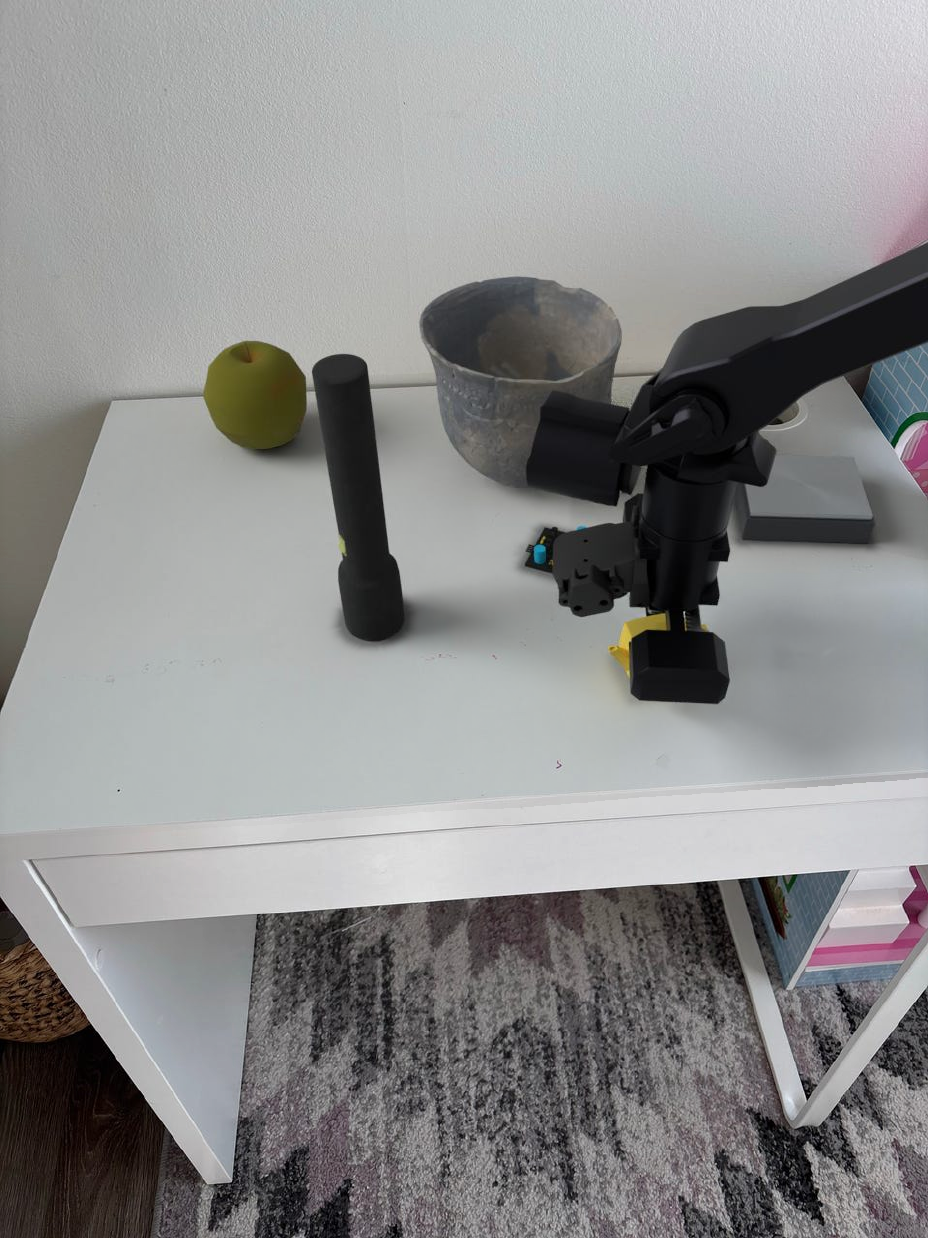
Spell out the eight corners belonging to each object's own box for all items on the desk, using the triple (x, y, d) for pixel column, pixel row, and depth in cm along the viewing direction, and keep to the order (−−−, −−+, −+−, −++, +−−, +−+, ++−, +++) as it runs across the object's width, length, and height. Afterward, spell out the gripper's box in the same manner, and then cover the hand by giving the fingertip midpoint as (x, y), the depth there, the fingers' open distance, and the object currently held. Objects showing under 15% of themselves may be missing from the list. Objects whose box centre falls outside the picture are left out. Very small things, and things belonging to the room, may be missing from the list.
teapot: (619, 716, 73) (625, 672, 69) (594, 660, 77) (599, 616, 73) (718, 696, 74) (729, 651, 70) (689, 642, 78) (698, 597, 74)
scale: (851, 480, 91) (860, 454, 89) (871, 543, 85) (881, 518, 83) (730, 477, 92) (736, 451, 90) (741, 539, 86) (747, 514, 84)
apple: (213, 470, 95) (186, 373, 87) (220, 414, 102) (197, 319, 94) (314, 462, 96) (297, 365, 88) (315, 407, 103) (299, 312, 95)
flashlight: (389, 590, 83) (335, 611, 81) (358, 338, 66) (290, 359, 64) (414, 627, 80) (360, 649, 78) (390, 373, 62) (318, 395, 61)
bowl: (415, 515, 90) (403, 375, 79) (439, 407, 102) (431, 273, 91) (608, 524, 88) (622, 382, 77) (608, 413, 100) (621, 277, 89)
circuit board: (540, 513, 87) (593, 526, 85) (539, 528, 88) (591, 541, 87) (519, 550, 84) (574, 564, 82) (519, 564, 85) (573, 579, 83)
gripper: (563, 427, 70) (555, 580, 82) (560, 610, 58) (551, 761, 69) (718, 430, 70) (688, 584, 81) (749, 617, 57) (708, 769, 68)
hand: (657, 667), depth 75 cm, fingers closed on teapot, 6 cm apart
